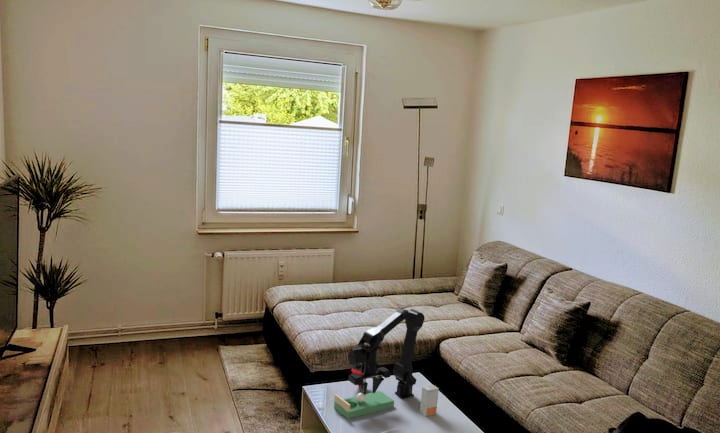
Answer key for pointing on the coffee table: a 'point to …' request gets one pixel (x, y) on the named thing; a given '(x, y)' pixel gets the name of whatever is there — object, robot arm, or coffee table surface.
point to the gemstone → (356, 372)
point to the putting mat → (362, 404)
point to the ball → (361, 397)
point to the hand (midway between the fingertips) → (368, 394)
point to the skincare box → (429, 400)
